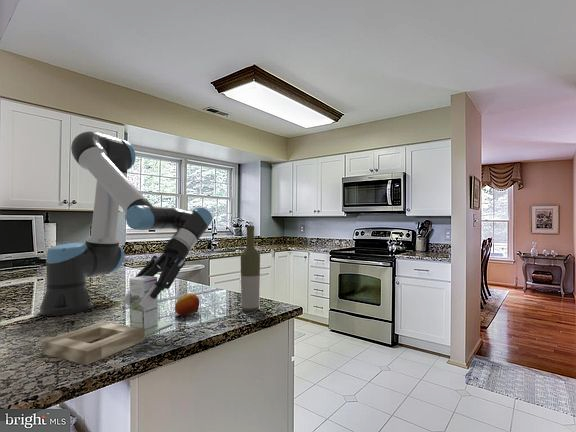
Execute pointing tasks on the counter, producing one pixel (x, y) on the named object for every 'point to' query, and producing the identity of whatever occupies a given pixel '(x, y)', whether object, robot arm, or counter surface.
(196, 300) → the fruit
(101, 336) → the slotted stand
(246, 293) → the bottle
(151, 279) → the syrup box
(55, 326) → the counter surface
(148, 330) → the mat
